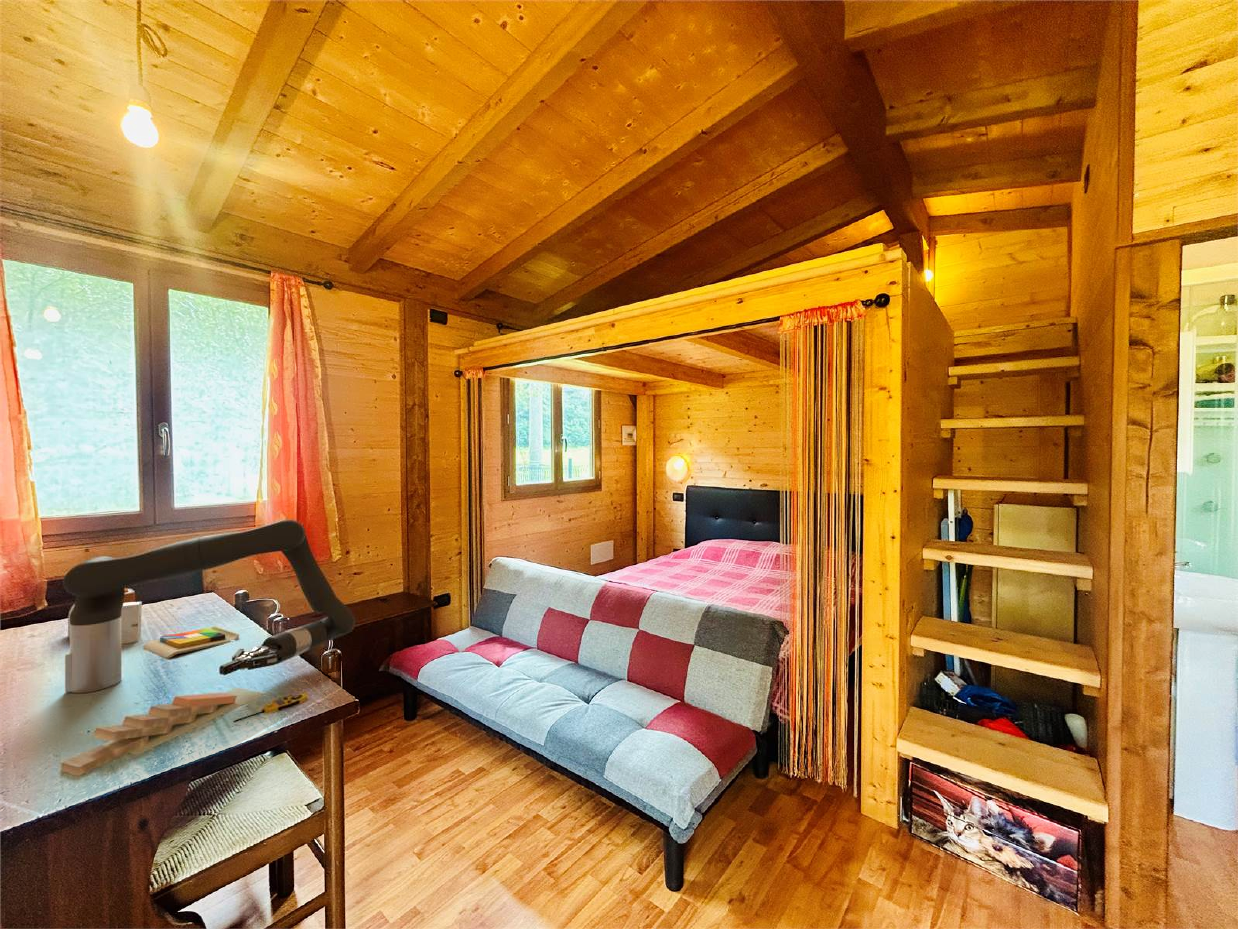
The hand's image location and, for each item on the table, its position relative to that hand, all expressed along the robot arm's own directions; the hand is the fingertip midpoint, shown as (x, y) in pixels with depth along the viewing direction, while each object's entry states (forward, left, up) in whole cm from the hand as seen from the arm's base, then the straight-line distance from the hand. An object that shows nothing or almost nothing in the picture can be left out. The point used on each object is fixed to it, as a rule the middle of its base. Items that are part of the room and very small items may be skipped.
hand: (221, 670), depth 119 cm
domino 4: (-2, -2, -7) cm, 8 cm away
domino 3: (-4, -6, -7) cm, 11 cm away
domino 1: (-10, -13, -7) cm, 18 cm away
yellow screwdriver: (+12, -6, -9) cm, 16 cm away
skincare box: (-45, +57, -9) cm, 73 cm away
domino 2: (-7, -10, -7) cm, 14 cm away
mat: (-4, -5, -8) cm, 11 cm away
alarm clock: (-57, +69, -9) cm, 90 cm away
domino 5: (+1, +1, -7) cm, 7 cm away
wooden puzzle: (-25, +49, -9) cm, 56 cm away
